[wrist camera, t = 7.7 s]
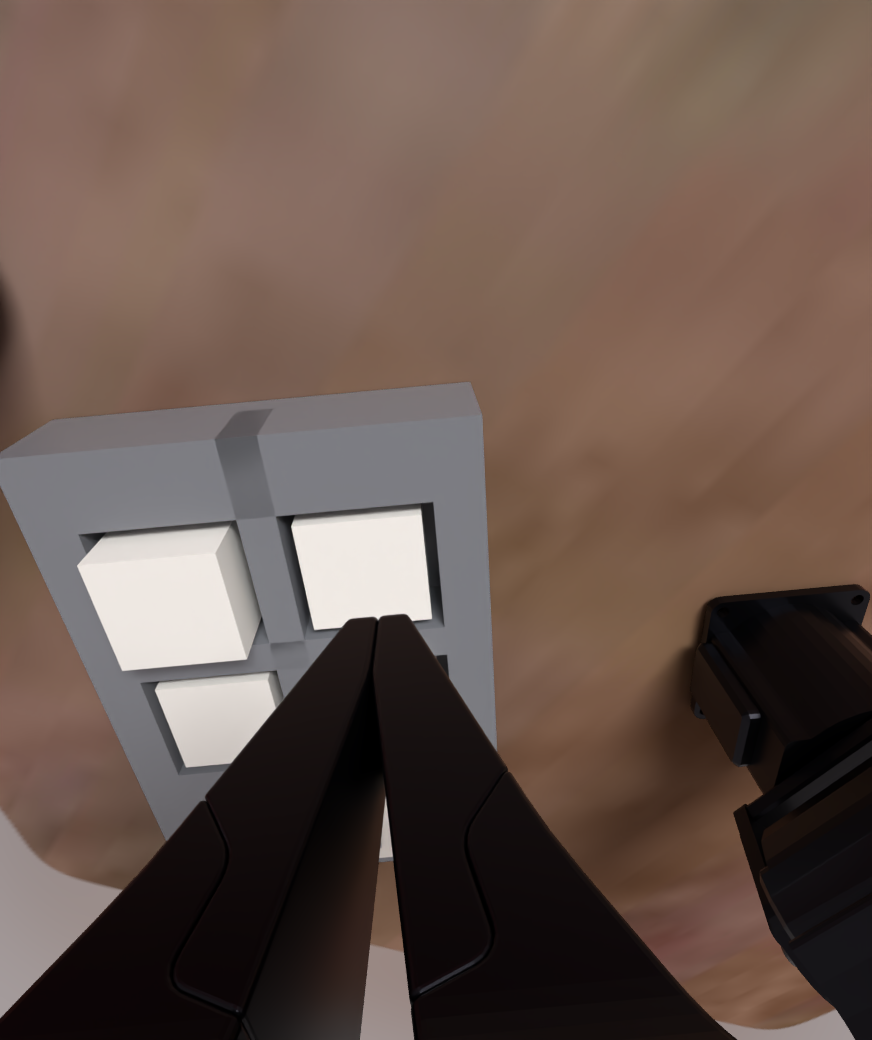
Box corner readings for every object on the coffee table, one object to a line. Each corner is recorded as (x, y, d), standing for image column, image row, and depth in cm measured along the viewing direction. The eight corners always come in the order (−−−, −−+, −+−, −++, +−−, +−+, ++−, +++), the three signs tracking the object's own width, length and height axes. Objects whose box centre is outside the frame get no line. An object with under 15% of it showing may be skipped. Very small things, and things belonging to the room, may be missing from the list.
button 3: (419, 481, 21) (421, 514, 18) (429, 578, 22) (432, 619, 20) (303, 491, 21) (291, 526, 18) (323, 587, 22) (314, 629, 20)
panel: (470, 381, 20) (483, 418, 17) (491, 782, 30) (502, 858, 26) (52, 419, 20) (-20, 464, 17) (207, 808, 29) (182, 888, 26)
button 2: (280, 634, 23) (267, 680, 21) (299, 709, 25) (289, 757, 23) (178, 644, 23) (154, 690, 21) (205, 718, 25) (186, 767, 23)
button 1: (236, 512, 20) (215, 552, 17) (263, 612, 21) (246, 659, 19) (113, 524, 19) (76, 565, 17) (151, 622, 21) (122, 670, 19)
